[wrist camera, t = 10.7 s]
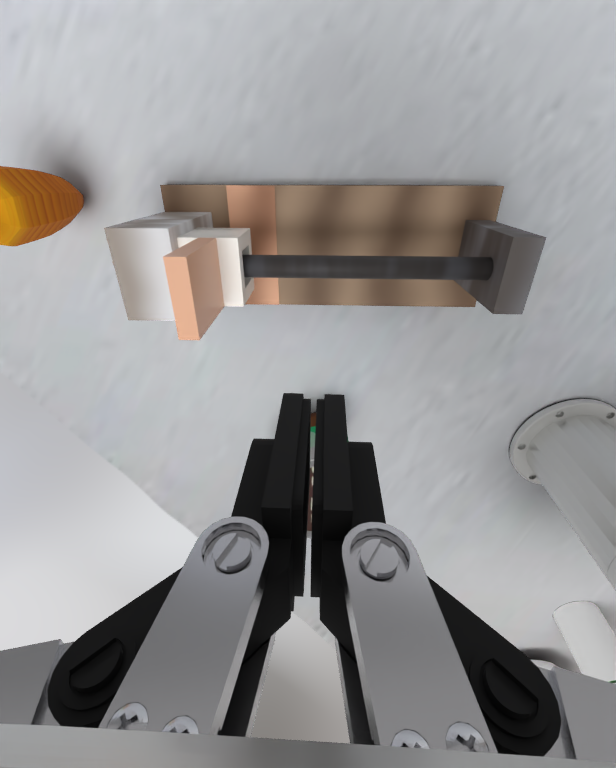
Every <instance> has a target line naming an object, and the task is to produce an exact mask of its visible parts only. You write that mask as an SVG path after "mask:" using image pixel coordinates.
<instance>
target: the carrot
mask: <svg viewBox="0 0 616 768" xmlns="http://www.w3.org/2000/svg"><path fill="white" fill-rule="evenodd" d="M83 204H84V199H83V195H82V194H81V193H80V192H79V191H78V190H77V189H76V188H75V187H74V186H73V185H72V184H71V183H69V182H67V181H66V180H64V179H63V178H61V177H58V176H54V175H51V174H48V173H44V172H40V171H35V170H28V169H20V168H13V167H3V166H0V245H6V246H18V245H22V244H25V243H29V242H32V241H35V240H38V239H41V238H44V237H47V236H50V235H52V234H54V233H55V232H57V231H59V230H60V229H62V228H63V227H65V226H66V225H68V224H69V223H70V222H71V221H72V220H73V219H74V218H75V216H76V215H77V214H78V213H79V212H80V210H81V209H82V207H83Z"/></svg>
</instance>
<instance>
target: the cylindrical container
mask: <svg viewBox="0 0 616 768" xmlns="http://www.w3.org/2000/svg"><path fill="white" fill-rule="evenodd" d="M553 618H554V620H555V622H556V624H557V626H558V628H559V630H560V632H561V634H562V635H563V637H564V639H565V641H566V643H567V645H568V647H569V649H570V651H571V653H572V655H573V657H574V659H575V661H576V663H577V665H578V667H579V669H580V671H581V673H582V674H583V675H587V676H590V677H593V678H597V679H600V680H603V681H607V682H610V683H613V684H616V635H615V634H614V632H613V630H612V629H611V627H610V626H609V624H608V622H607V621H606V619H605V618H604V616H603V614H602V613H601V611H600V610H599V608H598V606H597V605H596V604H594V603H592V602H587V601H576V602H571V603H567V604H564V605H562V606H560V607H559V608H557V609H556V610H555V611H554V613H553Z"/></svg>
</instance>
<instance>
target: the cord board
mask: <svg viewBox="0 0 616 768" xmlns="http://www.w3.org/2000/svg"><path fill="white" fill-rule="evenodd" d="M160 186H161V192H162V197H163V203H164V209H165V212H162V213H159V214H155V215H151V216H148V217H144V218H140V219H136V220H133V221H129V222H125V223H121V224H118V225H114V226H110V227H106V228H104V229H105V233H106V237H107V241H108V244H109V248H110V252H111V256H112V260H113V263H114V267H115V271H116V275H117V279H118V282H119V286H120V290H121V294H122V298H123V301H124V305H125V309H126V313H127V317H128V320H151V321H175V317H174V312H173V306H172V301H171V296H170V291H169V286H168V281H167V276H166V270H165V265H164V260H163V256H165V255H167V254H169V253H171V252H172V251H174V250H176V249H178V248H179V247H178V241H177V237H179V236H181V235H183V234H185V233H188V232H190V231H192V230H194V229H196V228H250V235H251V248H252V255H242V257H243V269H244V277H250V278H254V290H253V292H252V293H251V295H250V297H249V299H248V300H247V302H246V304H274V305H279V304H298V305H370V306H442V307H475V304H476V300H477V301H479V302H480V303H481V304H482V305H483V306H484V307H486V308H487V309H488V310H489V311H490V312H491V313H493V314H522V313H523V310H524V307H525V303H526V300H527V297H528V294H529V291H530V288H531V284H532V281H533V278H534V275H535V272H536V268H537V265H538V262H539V259H540V256H541V253H542V249H543V246H544V243H545V240H546V237H543V236H539V235H536V234H533V233H530V232H526V231H523V230H520V229H517V228H513V227H510V226H507V225H504V224H500V223H497V222H496V218H497V214H498V209H499V205H500V201H501V197H502V193H503V189H504V186H466V185H160Z"/></svg>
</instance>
